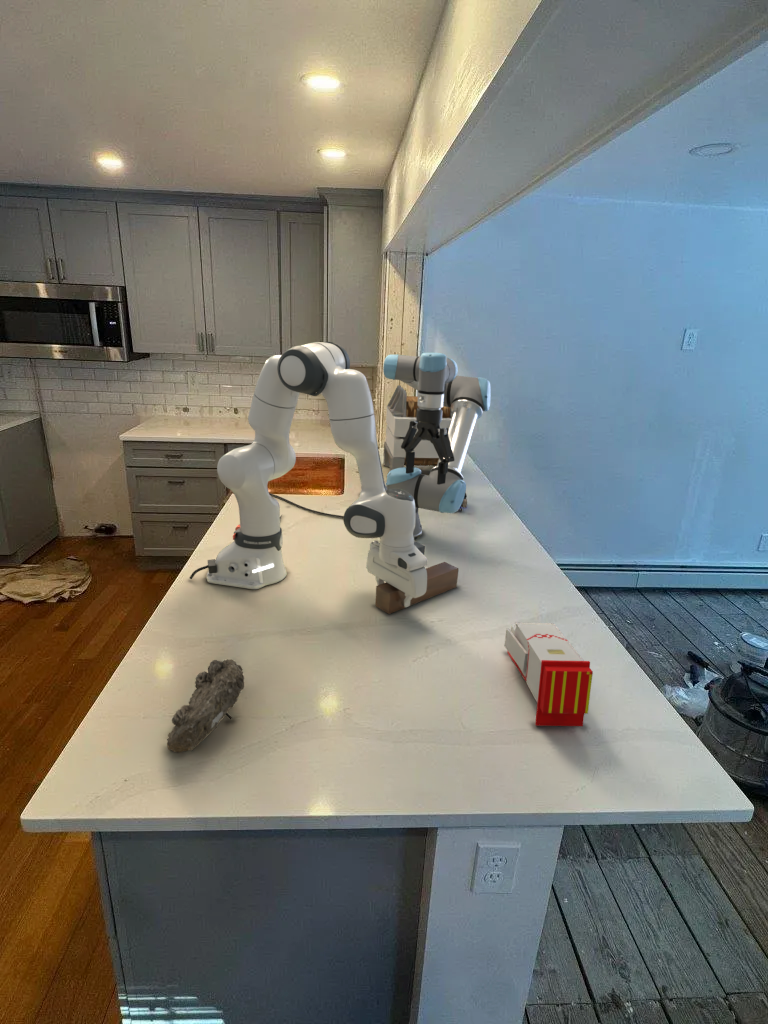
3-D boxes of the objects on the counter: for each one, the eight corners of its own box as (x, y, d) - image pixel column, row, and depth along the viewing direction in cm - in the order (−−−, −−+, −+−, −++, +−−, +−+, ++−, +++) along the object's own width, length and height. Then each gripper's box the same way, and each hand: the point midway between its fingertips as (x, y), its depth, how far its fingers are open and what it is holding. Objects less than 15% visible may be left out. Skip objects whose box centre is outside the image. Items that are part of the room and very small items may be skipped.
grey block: (399, 571, 171) (401, 544, 168) (411, 567, 175) (413, 540, 171) (411, 577, 168) (413, 549, 165) (423, 573, 171) (425, 545, 168)
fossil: (192, 660, 117) (244, 628, 112) (224, 691, 120) (276, 661, 115) (142, 746, 98) (202, 712, 93) (182, 779, 101) (242, 748, 96)
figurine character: (467, 516, 223) (461, 500, 237) (469, 499, 220) (463, 483, 233) (450, 516, 223) (446, 499, 236) (452, 498, 220) (447, 483, 233)
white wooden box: (382, 463, 289) (386, 382, 275) (445, 464, 293) (451, 384, 279) (390, 482, 257) (394, 392, 243) (460, 483, 261) (468, 394, 247)
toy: (550, 607, 134) (601, 667, 105) (545, 659, 137) (594, 732, 108) (499, 606, 134) (537, 666, 104) (495, 659, 137) (530, 731, 107)
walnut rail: (375, 605, 151) (376, 585, 149) (442, 580, 167) (444, 561, 165) (388, 614, 147) (389, 593, 145) (456, 587, 163) (458, 568, 161)
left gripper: (361, 540, 151) (360, 587, 156) (414, 568, 137) (410, 618, 142) (379, 535, 155) (377, 581, 160) (432, 561, 141) (428, 610, 146)
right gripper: (391, 402, 171) (388, 470, 178) (452, 416, 154) (446, 490, 161) (410, 400, 176) (406, 466, 183) (470, 413, 158) (464, 486, 166)
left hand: (393, 598), depth 151 cm, fingers open, 8 cm apart
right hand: (424, 478), depth 172 cm, fingers open, 13 cm apart
